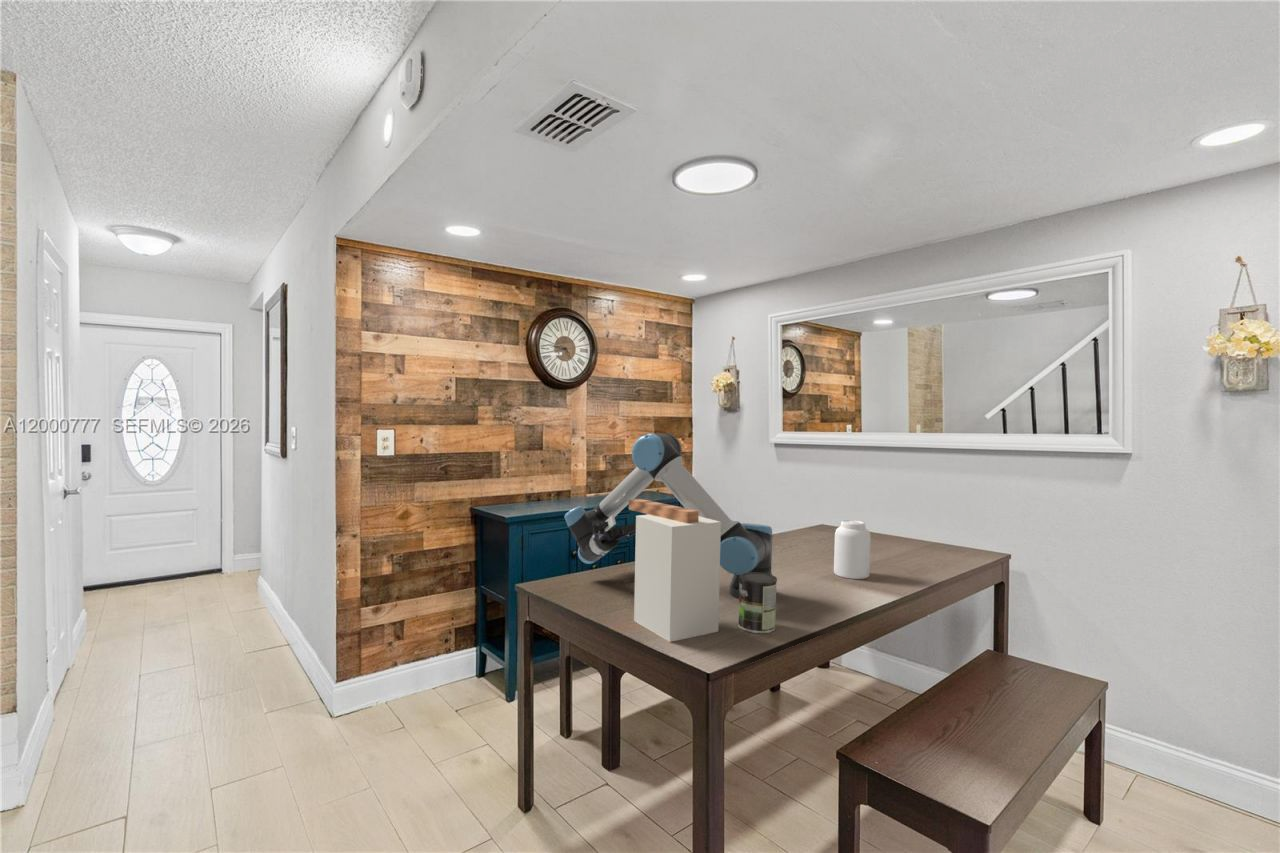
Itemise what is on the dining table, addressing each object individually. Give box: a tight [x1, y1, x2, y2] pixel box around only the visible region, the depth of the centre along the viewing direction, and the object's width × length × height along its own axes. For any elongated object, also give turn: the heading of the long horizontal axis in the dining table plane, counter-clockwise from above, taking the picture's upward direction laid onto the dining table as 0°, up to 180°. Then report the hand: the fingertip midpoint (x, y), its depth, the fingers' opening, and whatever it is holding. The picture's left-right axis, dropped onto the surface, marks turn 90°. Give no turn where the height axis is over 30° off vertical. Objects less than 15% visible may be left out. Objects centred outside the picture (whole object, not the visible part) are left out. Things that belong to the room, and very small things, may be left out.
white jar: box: [833, 519, 872, 580], centre depth 229 cm, size 12×12×20 cm
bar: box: [628, 498, 699, 523], centre depth 176 cm, size 26×4×3 cm, turn 38°
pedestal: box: [633, 514, 721, 643], centre depth 172 cm, size 18×16×30 cm
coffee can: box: [737, 572, 778, 634], centre depth 173 cm, size 10×10×14 cm
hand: (633, 517), depth 192 cm, fingers open, 13 cm apart
